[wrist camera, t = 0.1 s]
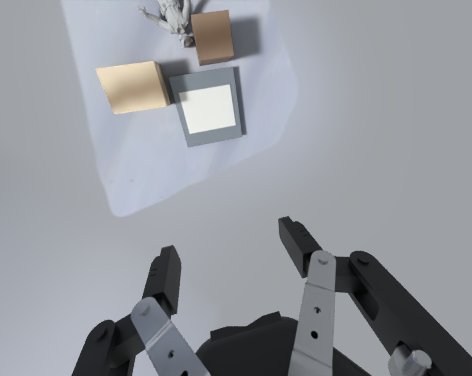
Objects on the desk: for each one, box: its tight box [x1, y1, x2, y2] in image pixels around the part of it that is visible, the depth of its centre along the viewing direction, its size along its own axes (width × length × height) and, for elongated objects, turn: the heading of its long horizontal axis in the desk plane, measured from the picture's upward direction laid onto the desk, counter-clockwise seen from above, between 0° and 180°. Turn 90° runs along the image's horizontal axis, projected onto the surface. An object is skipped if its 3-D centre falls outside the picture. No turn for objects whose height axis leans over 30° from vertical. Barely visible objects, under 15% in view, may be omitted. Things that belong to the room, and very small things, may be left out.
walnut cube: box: [191, 10, 234, 66], centre depth 28 cm, size 5×5×6 cm
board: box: [168, 67, 242, 147], centre depth 34 cm, size 12×11×1 cm
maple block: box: [95, 61, 171, 114], centre depth 30 cm, size 6×8×5 cm
